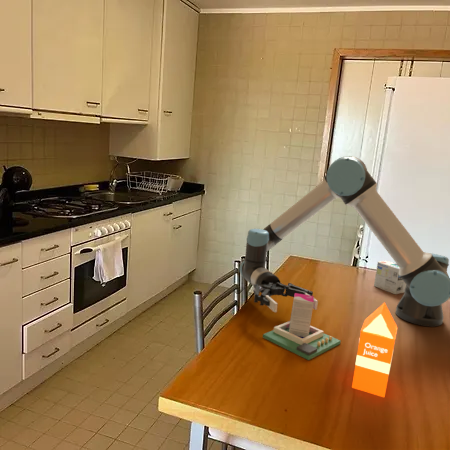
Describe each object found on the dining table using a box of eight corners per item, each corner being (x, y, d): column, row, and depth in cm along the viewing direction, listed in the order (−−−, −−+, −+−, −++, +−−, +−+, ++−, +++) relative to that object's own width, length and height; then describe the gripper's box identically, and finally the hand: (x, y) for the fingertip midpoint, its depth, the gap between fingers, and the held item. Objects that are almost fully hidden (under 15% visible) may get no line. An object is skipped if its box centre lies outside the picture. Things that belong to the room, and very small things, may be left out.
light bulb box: (405, 292, 179) (410, 267, 177) (395, 295, 175) (399, 269, 173) (383, 284, 188) (387, 259, 186) (373, 286, 184) (377, 261, 182)
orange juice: (388, 380, 111) (401, 305, 107) (384, 397, 103) (399, 317, 99) (356, 371, 114) (368, 297, 110) (350, 387, 106) (363, 309, 102)
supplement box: (308, 339, 127) (313, 302, 125) (287, 336, 128) (292, 299, 126) (308, 331, 132) (313, 295, 130) (289, 328, 134) (293, 292, 131)
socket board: (340, 343, 128) (341, 335, 128) (308, 360, 117) (309, 351, 117) (295, 324, 139) (296, 316, 139) (262, 337, 128) (263, 329, 128)
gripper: (296, 290, 155) (330, 315, 136) (230, 294, 146) (256, 321, 127) (299, 270, 154) (334, 292, 134) (232, 272, 145) (259, 296, 125)
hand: (296, 306), depth 131 cm, fingers open, 13 cm apart
